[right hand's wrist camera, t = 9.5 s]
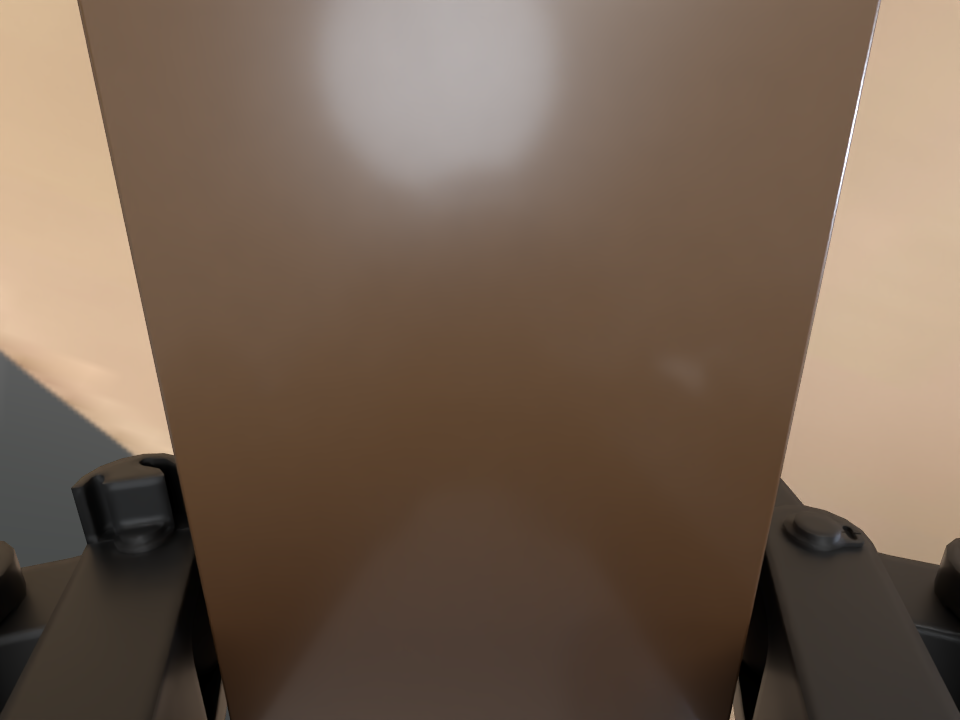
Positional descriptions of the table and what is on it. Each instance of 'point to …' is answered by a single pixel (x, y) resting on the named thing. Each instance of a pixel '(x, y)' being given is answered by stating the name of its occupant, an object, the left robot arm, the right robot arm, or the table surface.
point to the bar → (479, 331)
